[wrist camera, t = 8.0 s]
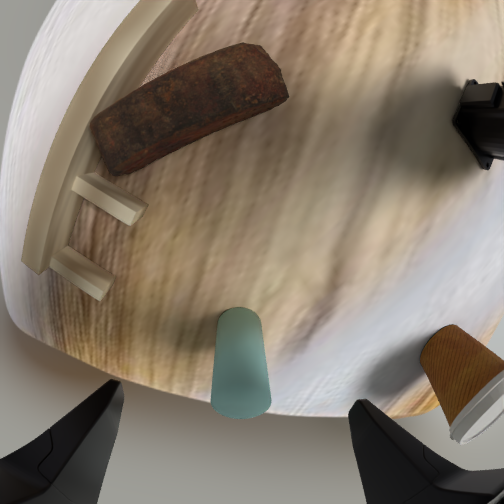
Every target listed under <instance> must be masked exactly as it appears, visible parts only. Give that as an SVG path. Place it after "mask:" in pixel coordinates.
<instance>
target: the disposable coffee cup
mask: <svg viewBox="0 0 504 504" xmlns="http://www.w3.org/2000/svg"><path fill="white" fill-rule="evenodd" d="M420 363H421V365H422V367H423V369H424V371H425V373H426V375H427V377H428V379H429V381H430V383H431V385H432V388H433V390H434V392H435V394H436V396H437V398H438V401H439V403H440V405H441V407H442V410H443V412H444V414H445V416H446V419H447V421H448V423H449V426H450V438H451V439H452V440H456V441H457V442H458V443H459V444H460V445H463V444H466V443H468V442H470V441H472V440H473V439H475V438H476V437H478V436H479V435H480V434H482V433H483V432H484V431H485V430H487V429H488V428H489V427H490V426H491V425H493V424H494V423H495V422H496V421H497V420H498V419H499V418H500V417H501V416H502V415H503V414H504V360H502V359H501V358H500V357H498V356H497V355H496V354H495V353H493V352H492V351H490V350H489V349H488V348H487V347H485V346H484V345H483V344H481V343H480V342H479V341H477V340H476V339H474V338H473V337H472V336H470V335H469V334H468V333H466V332H465V331H463V330H462V329H461V328H459V327H458V326H457V325H449V326H446V327H444V328H442V329H441V330H440V331H438V332H437V333H436V334H435V335H434V336H433V337H432V338H431V339H430V340H429V341H428V343H427V344H426V346H425V347H424V349H423V351H422V353H421V356H420Z"/></svg>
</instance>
